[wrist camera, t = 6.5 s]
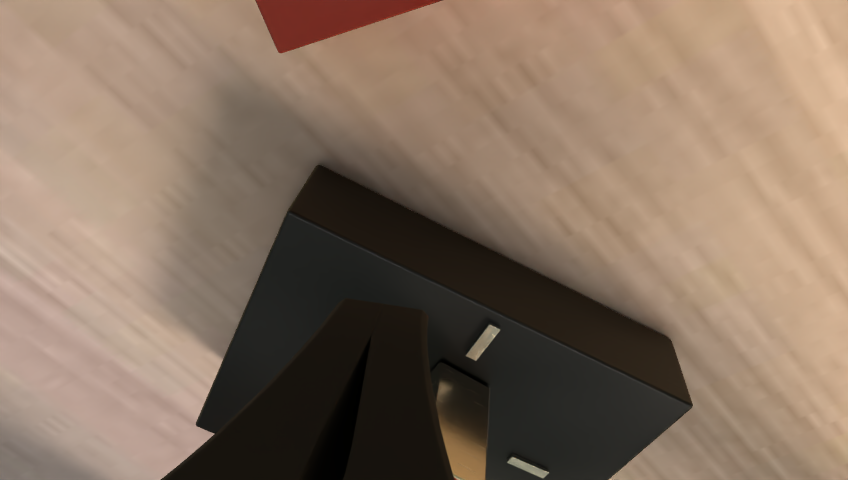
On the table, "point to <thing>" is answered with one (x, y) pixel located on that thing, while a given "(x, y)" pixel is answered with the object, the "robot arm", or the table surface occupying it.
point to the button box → (326, 18)
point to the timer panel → (461, 333)
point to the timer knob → (462, 420)
